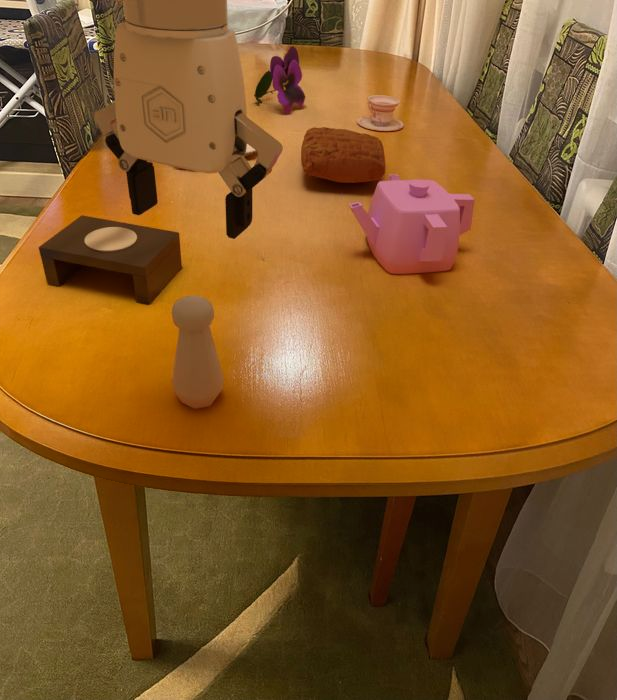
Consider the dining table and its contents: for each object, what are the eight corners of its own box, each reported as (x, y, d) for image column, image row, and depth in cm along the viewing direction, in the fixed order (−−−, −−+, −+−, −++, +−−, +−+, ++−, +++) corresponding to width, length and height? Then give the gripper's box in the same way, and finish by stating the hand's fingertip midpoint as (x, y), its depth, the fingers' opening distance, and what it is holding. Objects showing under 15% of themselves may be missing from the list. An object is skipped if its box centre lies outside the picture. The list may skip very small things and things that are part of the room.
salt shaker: (232, 388, 72) (230, 295, 64) (211, 419, 67) (205, 324, 59) (188, 375, 73) (180, 283, 65) (164, 405, 69) (152, 310, 61)
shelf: (47, 284, 87) (37, 245, 83) (88, 250, 96) (81, 213, 92) (149, 305, 84) (144, 266, 81) (182, 267, 93) (179, 231, 89)
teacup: (412, 125, 156) (416, 100, 153) (385, 135, 149) (389, 109, 145) (375, 114, 162) (378, 90, 159) (347, 123, 155) (349, 98, 151)
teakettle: (434, 290, 92) (451, 215, 84) (337, 257, 98) (345, 184, 91) (472, 248, 104) (490, 179, 96) (384, 221, 110) (393, 154, 103)
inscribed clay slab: (382, 200, 118) (388, 160, 113) (295, 193, 118) (297, 152, 113) (381, 160, 135) (386, 123, 130) (305, 153, 136) (307, 117, 131)
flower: (250, 129, 162) (288, 114, 154) (227, 72, 157) (266, 53, 148) (279, 117, 172) (317, 102, 164) (259, 62, 167) (297, 44, 159)
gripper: (46, -1, 44) (85, 216, 55) (260, 30, 40) (258, 260, 50) (109, -11, 50) (134, 187, 60) (303, 14, 45) (294, 224, 56)
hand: (190, 220), depth 55 cm, fingers open, 9 cm apart
